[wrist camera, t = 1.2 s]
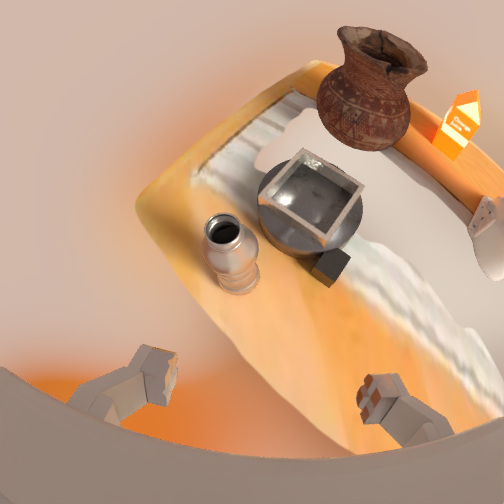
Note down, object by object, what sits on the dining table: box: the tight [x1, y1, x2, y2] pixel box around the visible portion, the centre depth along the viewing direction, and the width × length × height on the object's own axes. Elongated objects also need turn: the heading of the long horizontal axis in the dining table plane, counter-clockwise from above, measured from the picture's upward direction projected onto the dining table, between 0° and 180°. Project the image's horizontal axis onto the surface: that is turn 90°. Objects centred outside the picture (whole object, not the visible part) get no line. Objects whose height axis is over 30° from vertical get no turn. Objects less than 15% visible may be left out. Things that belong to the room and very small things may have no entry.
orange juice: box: [432, 90, 481, 161], centre depth 45 cm, size 8×9×20 cm
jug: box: [316, 26, 428, 151], centre depth 44 cm, size 22×21×25 cm
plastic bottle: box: [202, 213, 260, 296], centre depth 36 cm, size 6×7×20 cm
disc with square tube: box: [258, 148, 365, 287], centre depth 45 cm, size 18×20×8 cm
